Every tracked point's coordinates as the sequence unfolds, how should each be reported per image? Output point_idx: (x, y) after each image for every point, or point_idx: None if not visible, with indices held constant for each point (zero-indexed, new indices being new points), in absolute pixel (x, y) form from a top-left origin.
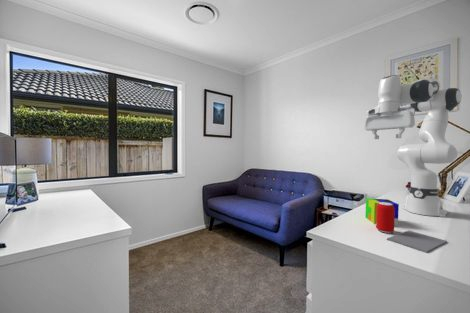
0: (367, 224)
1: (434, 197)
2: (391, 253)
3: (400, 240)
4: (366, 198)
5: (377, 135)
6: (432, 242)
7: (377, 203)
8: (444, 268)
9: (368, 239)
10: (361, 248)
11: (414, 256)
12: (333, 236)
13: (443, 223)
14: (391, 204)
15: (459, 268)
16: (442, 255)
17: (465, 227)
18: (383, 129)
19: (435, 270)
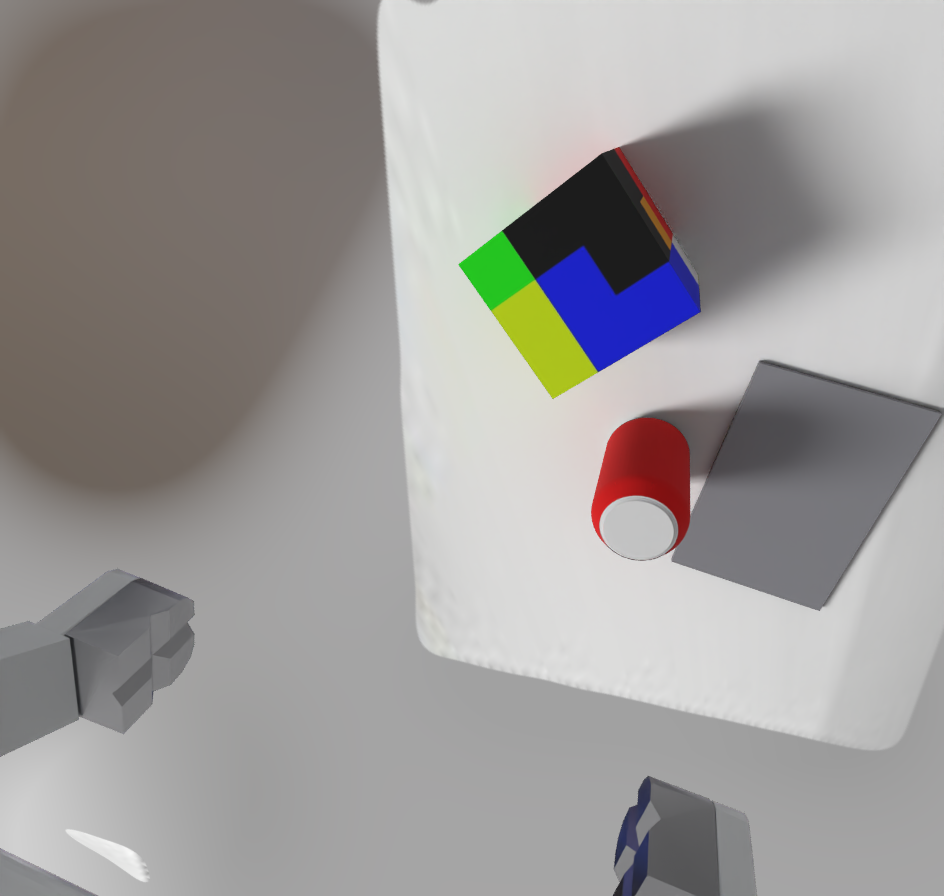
0: None
1: None
2: (701, 675)
3: (724, 553)
4: (462, 267)
5: (126, 724)
6: (860, 489)
7: (569, 387)
8: (858, 698)
9: (609, 598)
10: (609, 687)
11: (773, 660)
12: (499, 642)
13: None
14: (671, 539)
15: (908, 675)
16: (875, 597)
17: None
18: (43, 889)
19: (827, 723)
